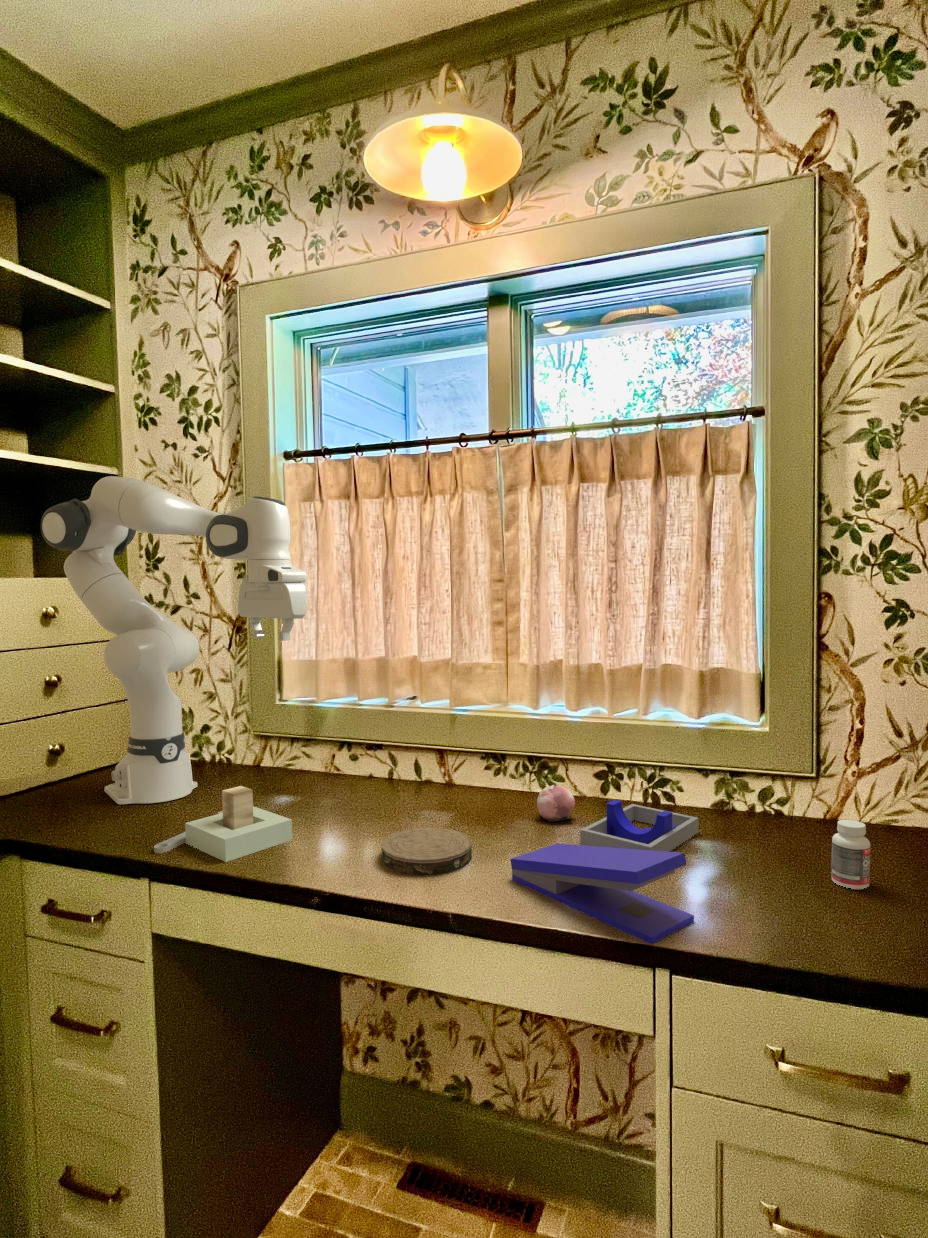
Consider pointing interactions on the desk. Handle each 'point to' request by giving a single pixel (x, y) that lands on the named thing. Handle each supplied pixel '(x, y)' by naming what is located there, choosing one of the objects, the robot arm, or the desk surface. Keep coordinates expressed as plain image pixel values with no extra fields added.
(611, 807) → the blue cradle holder
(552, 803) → the onion
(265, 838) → the pale green square frame
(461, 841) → the wood slice
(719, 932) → the desk surface
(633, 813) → the clip corral
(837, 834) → the pill bottle
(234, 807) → the wooden block
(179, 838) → the adjustable wrench
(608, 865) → the stapler
